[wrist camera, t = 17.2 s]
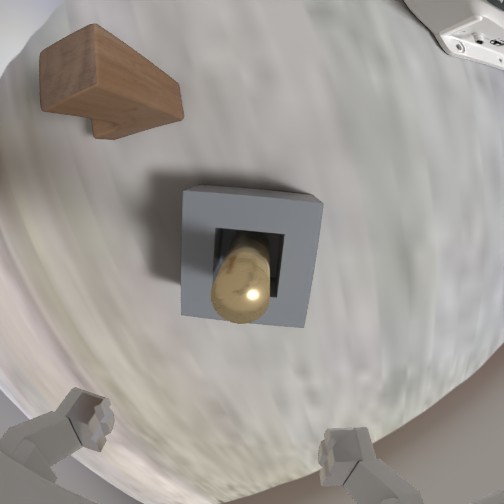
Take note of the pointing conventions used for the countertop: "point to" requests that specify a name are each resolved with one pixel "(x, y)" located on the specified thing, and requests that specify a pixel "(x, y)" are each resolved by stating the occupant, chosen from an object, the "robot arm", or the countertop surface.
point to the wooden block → (106, 84)
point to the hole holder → (251, 219)
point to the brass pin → (243, 279)
